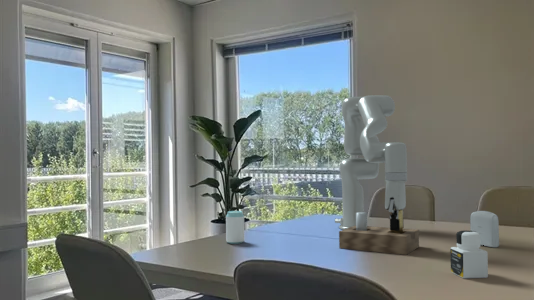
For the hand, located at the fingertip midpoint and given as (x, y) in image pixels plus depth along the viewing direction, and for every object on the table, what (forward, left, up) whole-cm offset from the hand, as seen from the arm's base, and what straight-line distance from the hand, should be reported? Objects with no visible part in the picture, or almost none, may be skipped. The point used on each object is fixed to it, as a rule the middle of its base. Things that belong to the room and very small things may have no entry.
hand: (396, 228), depth 167 cm
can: (-58, -16, -7) cm, 61 cm away
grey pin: (-13, 0, -5) cm, 14 cm away
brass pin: (0, 0, -3) cm, 3 cm away
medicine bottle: (+28, -26, -7) cm, 39 cm away
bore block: (-6, 0, -7) cm, 9 cm away
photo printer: (+26, +21, -7) cm, 34 cm away
